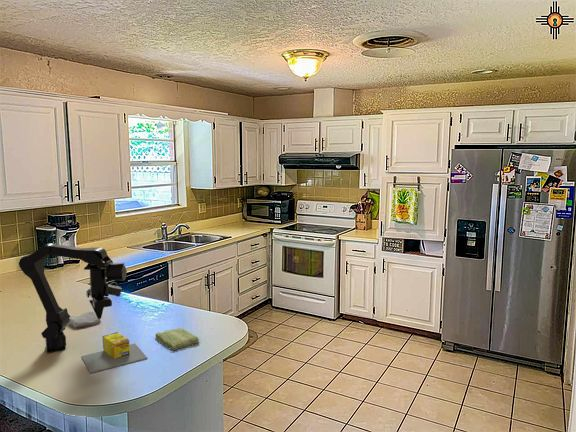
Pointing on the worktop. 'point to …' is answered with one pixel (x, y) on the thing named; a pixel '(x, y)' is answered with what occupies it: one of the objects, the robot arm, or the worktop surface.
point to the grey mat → (112, 359)
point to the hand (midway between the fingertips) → (99, 318)
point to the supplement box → (116, 345)
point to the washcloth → (176, 338)
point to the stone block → (84, 319)
